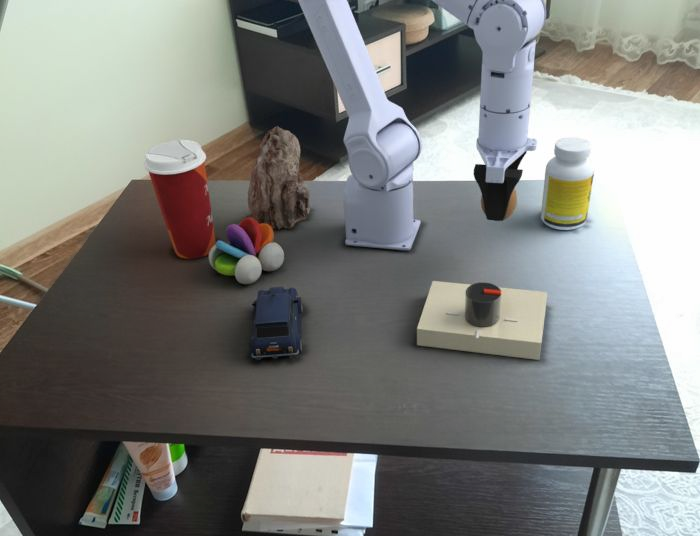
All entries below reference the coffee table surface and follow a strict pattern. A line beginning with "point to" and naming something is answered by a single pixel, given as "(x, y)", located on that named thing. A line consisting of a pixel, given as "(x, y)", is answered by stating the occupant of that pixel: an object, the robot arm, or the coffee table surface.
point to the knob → (482, 304)
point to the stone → (278, 182)
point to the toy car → (276, 323)
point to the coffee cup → (183, 195)
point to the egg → (510, 206)
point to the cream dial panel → (499, 339)
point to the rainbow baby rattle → (247, 251)
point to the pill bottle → (568, 184)
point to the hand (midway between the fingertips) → (497, 209)
